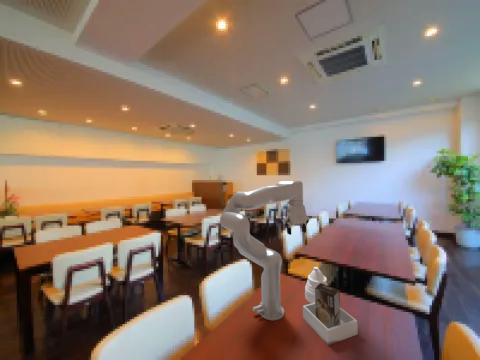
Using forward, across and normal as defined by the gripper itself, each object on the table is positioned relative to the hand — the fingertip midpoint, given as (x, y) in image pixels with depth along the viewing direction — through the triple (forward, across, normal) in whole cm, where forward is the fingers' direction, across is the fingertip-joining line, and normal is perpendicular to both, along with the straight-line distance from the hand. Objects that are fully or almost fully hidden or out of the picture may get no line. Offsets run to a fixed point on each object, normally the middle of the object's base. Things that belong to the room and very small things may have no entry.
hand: (296, 233), depth 113 cm
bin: (+36, 0, -24) cm, 43 cm away
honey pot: (+37, +9, -5) cm, 38 cm away
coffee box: (+36, 0, -23) cm, 43 cm away
